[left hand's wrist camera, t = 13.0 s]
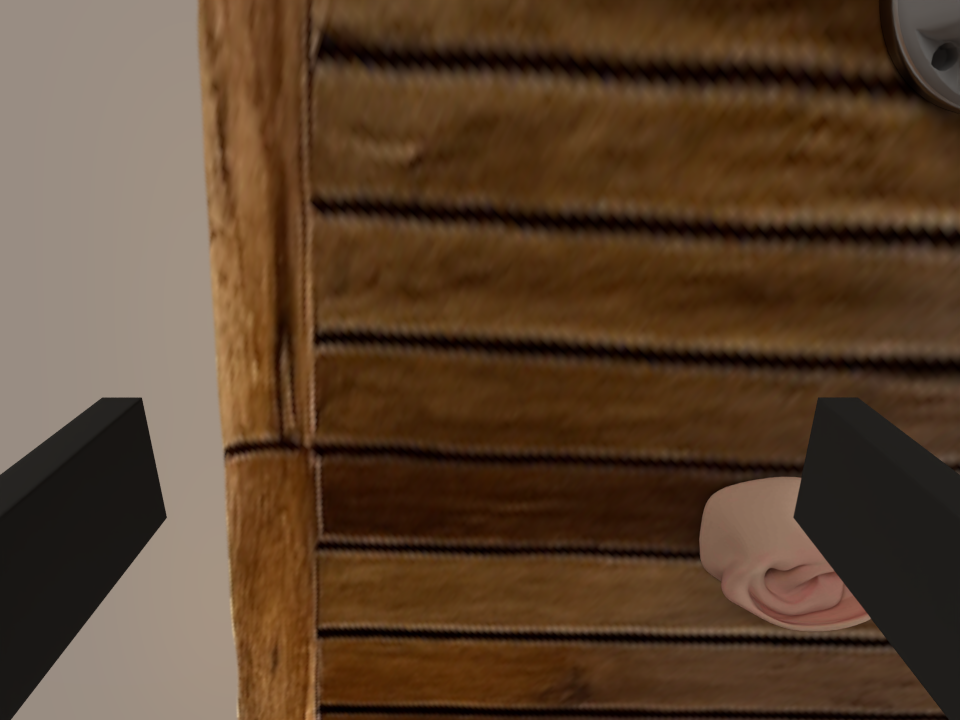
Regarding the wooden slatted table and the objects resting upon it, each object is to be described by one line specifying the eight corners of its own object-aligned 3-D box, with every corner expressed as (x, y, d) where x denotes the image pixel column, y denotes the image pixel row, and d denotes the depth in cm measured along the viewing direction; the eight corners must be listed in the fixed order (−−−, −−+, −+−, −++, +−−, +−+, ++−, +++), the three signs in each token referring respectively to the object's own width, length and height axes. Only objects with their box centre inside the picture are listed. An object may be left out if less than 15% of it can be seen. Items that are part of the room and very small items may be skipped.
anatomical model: (691, 540, 44) (857, 473, 42) (675, 506, 48) (827, 444, 46) (753, 671, 48) (906, 616, 46) (733, 631, 52) (874, 578, 50)
